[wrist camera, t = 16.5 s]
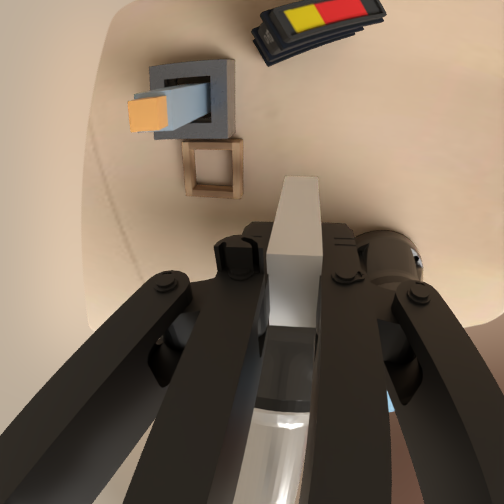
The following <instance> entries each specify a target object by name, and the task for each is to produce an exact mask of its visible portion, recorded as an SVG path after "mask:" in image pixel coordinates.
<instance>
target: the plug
mask: <svg viewBox="0 0 504 504" xmlns="http://www.w3.org/2000/svg"><path fill="white" fill-rule="evenodd" d="M128 111H129V121H130V130H131V132H137V133H139V132H154V131H173V130H175V129H177V128H179V127H181V126H183V125H185V124H187V123H189V122H191V121H193V120H195V119H197V118H199V117H201V116H203V115H206V114H208V113H210V112H211V85H210V82H209V83H192V84H182V85H176V86H171V87H165V88H160V89H156V90H151V91H146V92H142V93H138V94H134V100H132V101H128Z"/></svg>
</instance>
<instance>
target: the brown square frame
mask: <svg viewBox="0 0 504 504" xmlns="http://www.w3.org/2000/svg"><path fill="white" fill-rule="evenodd" d="M181 144H182V157H183V169H184V180H185V190H186V196H199V197H216V198H231V199H241V197H242V195H243V140H242V139H186V140H184V141H183V142H181ZM194 149H207V150H232V167H233V186H217V185H197V183H196V170H195V156H194Z"/></svg>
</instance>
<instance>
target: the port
mask: <svg viewBox="0 0 504 504" xmlns="http://www.w3.org/2000/svg"><path fill="white" fill-rule="evenodd" d="M149 74H150V91H151V90H156V89H160V88H165V87H171V86H176V85H177V78H184V77H197V76H210V85H211V118H197V119H195V120H193V121H191V122H189V123H187V124H185V125H183V126H181V127H179V128H177V129H175V130H173V131H154V140H160V139H228V138H230V137H231V136H232V135H233V134H234V133H235V60H230V59H218V60H203V61H191V62H181V63H173V64H165V65H158V66H151V67H149Z"/></svg>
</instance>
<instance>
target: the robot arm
mask: <svg viewBox="0 0 504 504" xmlns="http://www.w3.org/2000/svg"><path fill="white" fill-rule="evenodd" d="M214 251H215V258H216V264H217V270H218V272H217V274H216V277H215V278H212V279H209V280H204V281H197V282H191V283H190V281H189V278H188V276H187V275H186V274H185V273H183V272H180V271H174V270H171V271H164V272H161V273H158V274H156V275H154V276H153V277H151V278H150V279H149V280H148V281H147V282H146V283H144V284H143V285H142V286H141V287H140V288H139V289H138V290H137V291H136V292H135V293H134V294H133V295H132V296H131V297H130V298H129V299H128V300H127V301H126V302H125V303H124V304H123V305H122V306H121V307H120V308H119V309H118V310H117V311H115V312H114V313H113V314H112V315H111V316H110V317H109V318H108V319H107V320H106V321H105V322H104V323H103V324H102V325H101V326H100V327H99V328H98V329H97V330H96V331H95V332H94V334H92V335H91V336H90V338H89V339H88V340H87V341H86V342H85V343H84V344H83V345H82V346H81V347H80V348H79V349H78V350H77V351H76V352H75V353H74V354H73V355H72V356H71V357H70V358H69V359H68V360H67V361H66V362H65V363H64V365H63V366H62V367H61V368H60V369H59V370H58V371H57V372H56V373H55V374H54V375H53V376H52V377H51V378H50V380H49V381H48V382H47V383H46V384H45V385H44V386H43V387H42V389H40V390H39V392H38V393H37V394H36V395H35V396H34V397H33V398H32V399H31V401H30V402H29V403H28V404H27V405H26V406H25V407H24V408H23V410H22V411H21V412H20V413H19V415H17V417H16V418H15V419H14V420H13V421H12V422H11V424H10V425H9V426H8V427H7V428H6V430H5V431H4V432H3V433H2V434H1V436H0V504H92V503H93V502H94V500H95V499H96V497H97V496H98V495H99V494H100V492H101V491H102V490H103V488H104V487H105V486H106V485H107V483H108V482H109V481H110V479H111V478H112V477H113V475H114V474H115V472H116V471H117V470H118V468H119V467H120V466H121V464H122V463H123V462H124V460H125V459H126V458H127V456H128V455H129V454H130V452H131V451H132V449H133V448H134V447H135V445H136V444H137V443H138V441H139V440H140V438H141V437H142V436H143V434H144V433H145V432H146V430H147V429H148V427H149V426H150V425H151V423H152V422H153V421H154V419H155V418H156V419H155V421H154V424H153V426H152V429H151V431H150V434H149V436H148V439H147V441H146V444H145V446H144V449H143V451H142V454H141V456H140V459H139V462H138V464H137V467H136V470H135V472H134V475H133V477H132V480H131V483H130V485H129V488H128V490H127V493H126V496H125V498H124V501H123V504H295V499H296V495H297V490H298V486H299V481H300V476H301V471H302V467H303V461H304V456H305V463H304V471H303V478H302V485H301V493H300V499H299V504H391V487H392V484H391V483H392V480H391V478H392V477H391V476H392V474H391V473H392V472H391V439H390V424H389V423H390V422H389V412H392V411H395V413H396V415H397V418H398V421H399V424H400V427H401V430H402V433H403V435H404V438H405V441H406V444H407V447H408V450H409V453H410V456H411V459H412V463H413V466H414V469H415V472H416V476H417V479H418V482H419V486H420V489H421V493H422V496H423V500H424V503H425V504H504V395H503V393H502V391H501V390H500V388H499V386H498V384H497V382H496V380H495V379H494V377H493V375H492V373H491V372H490V370H489V368H488V367H487V365H486V363H485V361H484V360H483V358H482V357H481V355H480V353H479V352H478V350H477V348H476V347H475V345H474V344H473V342H472V340H471V339H470V337H469V336H468V334H467V333H466V331H465V330H464V328H463V327H462V325H461V324H460V322H459V321H458V319H457V318H456V316H455V315H454V314H453V312H452V311H451V309H450V308H449V307H448V305H447V304H446V302H445V301H444V300H443V298H442V297H441V295H440V294H439V293H438V292H437V291H436V290H435V289H434V288H433V287H432V286H431V285H429V284H427V283H425V282H423V264H422V260H421V257H420V255H419V253H418V250H417V248H416V247H415V245H414V244H413V243H412V242H411V241H410V240H409V239H408V238H407V237H405V236H403V235H402V234H399V233H396V232H393V231H385V230H381V231H372V232H368V233H365V234H362V235H360V236H358V237H356V238H354V234H353V230H352V229H350V228H349V227H348V226H347V225H346V224H340V223H321V212H320V197H319V184H318V176H285V179H284V183H283V187H282V191H281V196H280V200H279V204H278V208H277V212H276V216H275V220H274V222H252V223H250V224H249V225H248V226H246V227H245V228H244V231H243V233H242V235H233V236H230V237H226V238H224V239H222V240H220V241H218V242H217V243H216V244H215V246H214ZM159 338H160V339H159ZM158 339H159V340H158ZM305 451H306V455H305Z"/></svg>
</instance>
